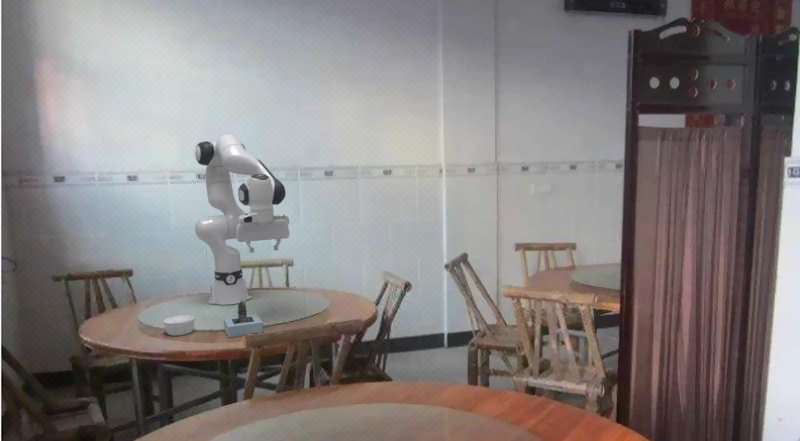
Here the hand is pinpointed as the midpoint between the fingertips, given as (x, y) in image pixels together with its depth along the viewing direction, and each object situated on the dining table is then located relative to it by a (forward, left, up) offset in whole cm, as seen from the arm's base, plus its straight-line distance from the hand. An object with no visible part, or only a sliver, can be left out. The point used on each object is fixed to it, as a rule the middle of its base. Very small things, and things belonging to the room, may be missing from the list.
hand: (263, 251), depth 244 cm
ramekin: (-1, -33, -28) cm, 44 cm away
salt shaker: (+9, -11, -28) cm, 32 cm away
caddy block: (+9, -11, -28) cm, 31 cm away
